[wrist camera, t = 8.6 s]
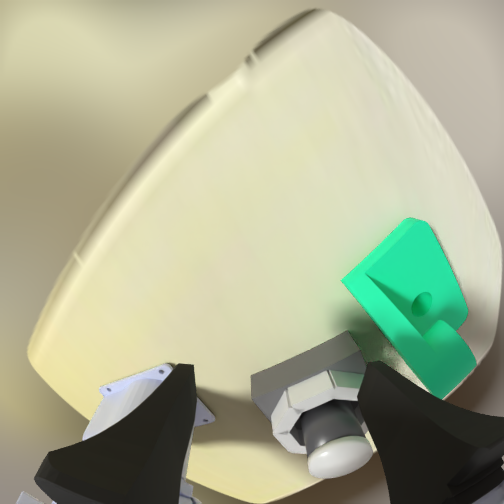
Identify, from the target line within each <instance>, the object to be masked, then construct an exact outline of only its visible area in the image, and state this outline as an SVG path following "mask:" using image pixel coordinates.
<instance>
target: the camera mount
mask: <svg viewBox="0 0 504 504" xmlns="http://www.w3.org/2000/svg"><path fill="white" fill-rule="evenodd" d="M341 281H342V283H343V284H344V285H345V286H346V287H347V289H348V290H349V291H350V292H351V294H352V295H353V296H354V297H355V298H356V300H357V301H358V302H359V303H360V305H361V306H362V308H363V309H364V310H365V311H366V312H367V314H368V315H369V316H370V317H371V319H372V320H373V321H374V323H375V324H376V325H377V326H378V328H379V329H380V330H381V331H382V333H383V334H384V335H385V337H386V338H387V339H388V340H389V342H390V343H391V344H392V345H393V347H394V348H395V349H396V351H397V352H398V353H399V355H400V356H401V357H402V359H403V360H404V361H405V363H406V364H407V365H408V366H409V368H410V369H411V370H412V371H413V373H414V374H415V375H416V376H417V377H418V379H419V380H420V381H421V382H422V383H423V385H424V386H425V387H426V388H427V389H428V391H429V392H430V393H431V394H432V395H434V396H436V397H438V398H440V399H443V398H444V397H445V396H446V395H447V394H448V393H449V392H451V391H452V390H453V389H454V388H455V387H456V386H457V385H458V384H459V383H460V382H461V381H462V380H463V379H464V378H465V377H466V376H467V375H468V374H469V373H470V372H471V371H472V370H473V369H474V368H475V367H476V365H477V363H476V360H475V357H474V355H473V353H472V352H471V350H470V348H469V347H468V345H467V344H466V343H465V341H464V340H463V339H462V338H461V337H460V335H459V334H458V333H457V332H456V330H457V329H458V328H459V327H460V326H461V325H462V324H463V323H464V321H465V320H466V318H467V315H468V308H467V305H466V302H465V300H464V297H463V295H462V292H461V290H460V288H459V285H458V283H457V281H456V278H455V276H454V274H453V272H452V269H451V267H450V265H449V263H448V261H447V259H446V257H445V255H444V253H443V251H442V249H441V247H440V245H439V243H438V241H437V239H436V237H435V235H434V233H433V231H432V230H431V228H430V226H429V224H428V223H427V222H425V221H422V220H418V219H415V218H406V219H405V220H403V221H402V222H401V223H400V224H399V225H398V226H397V227H396V228H395V229H394V230H393V231H392V232H391V233H390V234H389V235H388V236H387V237H386V238H385V239H384V240H383V241H382V242H381V243H380V244H379V245H378V246H377V247H376V248H375V249H374V250H373V251H372V252H371V253H370V254H369V255H368V256H367V257H366V258H365V259H364V260H363V261H362V262H360V263H359V264H358V265H357V266H356V267H355V268H354V269H353V270H352V271H351V272H350V273H349V274H347V275H346V276H345V277H344V278H343V279H342V280H341Z"/></svg>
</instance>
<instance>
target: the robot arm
mask: <svg viewBox="0 0 504 504" xmlns="http://www.w3.org/2000/svg"><path fill="white" fill-rule="evenodd" d="M161 370H163V371H164V372H163V371H161ZM109 388H110V389H109ZM99 391H100V393H101V394H102V395H103V396H104V397H103V399H102V401H101V403H100V405H99V406H98V408H97V410H96V412H95V414H94V415H93V417H92V419H91V421H90V423H89V425H88V426H87V428H86V430H85V432H84V435H83V441H82V442H79V443H76V444H74V445H71V446H68V447H64V448H61V449H58V450H54V451H50V452H49V453H48V454H47V456H46V457H45V459H44V460H43V462H42V464H41V466H40V468H39V470H38V472H37V474H36V476H35V477H34V480H35V482H36V484H37V485H38V486H39V487H40V488H41V490H43V491H44V492H45V493H46V494H47V495H48V496H49V497H50V498H51V499H52V500H53V502H52V504H202V503H201V502H200V501H199V500H198V499H197V498H195V497H192V492H193V486H192V485H190V484H188V483H186V482H185V480H186V474H187V468H188V461H189V455H190V449H191V443H192V437H193V432H194V427H197V426H200V425H204V424H208V423H211V422H214V421H215V416H214V415H213V414H212V413H211V412H210V410H209V409H208V408H207V407H206V406H205V405H204V404H203V403H202V402H201V401H200V399H199V398H198V397H197V394H196V384H195V374H194V365H191V364H180V363H179V364H177V365H176V366H175V368H174V369H173V368H172V366H171V365H169V364H166V363H165V364H162V365H159V366H157V367H154V368H151V369H149V370H146V371H143V372H140V373H138V374H135V375H132V376H129V377H126V378H124V379H121V380H118V381H115V382H112V383H109V384H106V385H103V386H101V387H100V388H99ZM357 399H358V403H359V407H360V410H361V414H362V417H363V419H364V421H365V424H366V426H367V428H368V430H369V433H370V435H371V437H372V439H373V442H374V444H375V446H376V448H377V451H378V453H379V455H380V458H381V461H382V465H383V469H384V472H385V476H386V480H387V485H388V490H389V496H390V503H391V504H504V470H503V469H502V468H501V466H502V465H503V464H504V461H503V460H502V456H503V455H504V417H497V416H490V415H485V414H480V413H476V412H472V411H469V410H466V409H463V408H460V407H458V406H455V405H453V404H450V403H448V402H446V401H444V400H442V399H440V398H438V397H436V396H434V395H432V394H430V393H429V392H427V391H425V390H424V389H422V388H420V387H419V386H417V385H416V384H414V383H413V382H411V381H410V380H408V379H407V378H405V377H404V376H402V375H401V374H399V373H398V372H397V371H395V370H394V369H392V368H391V367H389V366H388V365H386V364H385V363H383V362H381V361H376V362H368V364H367V368H366V371H365V374H364V377H363V380H362V383H361V386H360V389H359V392H358V395H357ZM205 419H207V420H205ZM16 504H45V503H43V502H42V501H40V500H38V499H36V498H35V497H33V496H31V495H29V494H28V493H26V492H25V491H23V492H22V493H21V495H20V497H19V499H18V501H17V503H16Z"/></svg>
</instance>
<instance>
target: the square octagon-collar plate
mask: <svg viewBox="0 0 504 504" xmlns="http://www.w3.org/2000/svg"><path fill="white" fill-rule="evenodd" d="M366 368H367V367H366V364H365V362H364V359H363V356H362V354H361V351H360V349H359V347H358V346H357V344H356V343H355V341H354V340H353V338H352V337H351V335H350V334H349V332H348V330H347V331H346V332H344V333H342V334H340V335H338V336H336V337H334V338H332V339H330V340H328V341H326V342H324V343H322V344H320V345H318V346H316V347H314V348H312V349H310V350H308V351H306V352H304V353H302V354H300V355H297V356H295V357H293V358H291V359H289V360H286V361H284V362H282V363H280V364H277V365H275V366H273V367H270V368H268V369H266V370H263V371H261V372H258V373H256V374H253V375H251V396H252V400H253V401H254V402H255V404H256V405H257V406H258V407H259V409H260V410H261V411H262V412H263V414H264V415H265V416H266V417H267V418H268V420H269V421H270V422H271V423H272V429H273V435H274V437H275V438H276V439H277V440H278V441H279V442H280V443H281V444H282V445H283V446H284V447H285V448H286V450H287V451H288V452H291V453H301V454H307V452H306V447H305V442H304V437H303V432H302V427H301V422H300V418H299V416H300V415H301V413H302V412H305V411H307V410H309V409H312V408H314V407H317V406H319V405H321V404H323V403H326V402H328V401H330V400H332V399H341V400H350V402H351V404H352V406H353V409H354V411H355V413H356V416H357V418H358V420H359V423H360V425H361V427H362V430H363V432H364V434H366V432H367V431H368V428H367V426H366V424H365V421H364V419H363V417H362V414H361V410H360V407H359V403H358V399H357V395H358V392H359V389H360V386H361V383H362V380H363V377H364V374H365V371H366Z"/></svg>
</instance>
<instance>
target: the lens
mask: <svg viewBox="0 0 504 504" xmlns="http://www.w3.org/2000/svg"><path fill="white" fill-rule="evenodd" d="M299 418H300V422H301V427H302V432H303V437H304V442H305V447H306V452H307V456H308V460H307V464H308V469H309V473H310V474H311V475H312V476H314V477H317V478H335V477H339V476H343V475H346V474H349V473H351V472H353V471H355V470H357V469H359V468H360V467H362V466H363V465H364V464H365V463H367V462H368V461H369V460H370V458H371V456H372V454H373V450H372V447H371V445H370V443H369V441H368V440H367V439H366V437H365V434H364V432H363V430H362V427H361V425H360V423H359V420H358V418H357V416H356V413H355V411H354V409H353V406H352V404H351V402H350V400H341V399H332V400H330V401H328V402H326V403H323V404H321V405H319V406H317V407H314V408H312V409H309V410H307V411H305V412H302V413H301V415H300V416H299Z"/></svg>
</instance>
